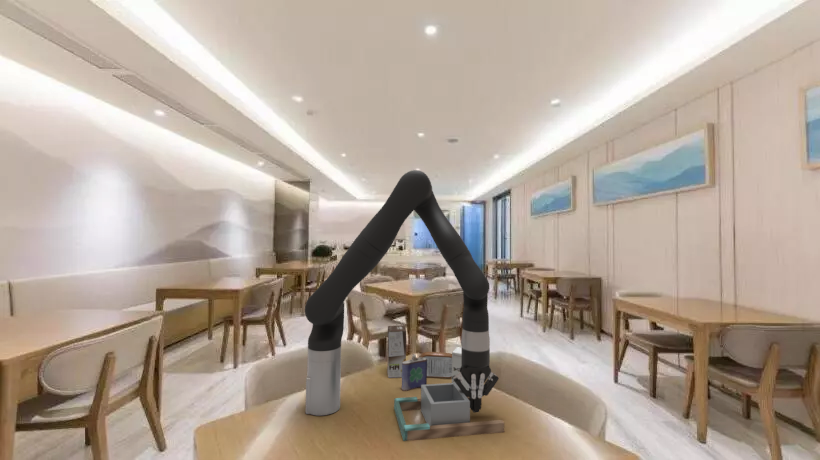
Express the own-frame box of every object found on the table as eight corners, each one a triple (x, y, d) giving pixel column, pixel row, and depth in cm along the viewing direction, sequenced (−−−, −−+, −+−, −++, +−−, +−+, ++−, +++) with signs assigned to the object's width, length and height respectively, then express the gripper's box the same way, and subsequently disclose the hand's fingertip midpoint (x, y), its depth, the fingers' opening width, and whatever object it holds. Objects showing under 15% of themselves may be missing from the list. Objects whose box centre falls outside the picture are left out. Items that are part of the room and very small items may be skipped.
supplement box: (450, 392, 112) (451, 351, 112) (457, 383, 118) (458, 345, 119) (473, 396, 108) (473, 355, 109) (479, 387, 115) (479, 348, 116)
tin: (459, 376, 125) (459, 352, 125) (459, 380, 122) (459, 355, 122) (416, 374, 126) (417, 350, 127) (416, 377, 123) (416, 353, 124)
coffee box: (406, 377, 123) (406, 331, 124) (387, 378, 123) (388, 331, 123) (403, 368, 133) (404, 325, 133) (386, 368, 132) (387, 325, 132)
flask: (404, 392, 111) (404, 358, 111) (399, 389, 114) (399, 355, 114) (428, 386, 116) (428, 353, 116) (423, 383, 118) (423, 351, 119)
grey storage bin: (430, 433, 87) (431, 404, 87) (420, 410, 99) (421, 384, 99) (469, 429, 89) (469, 401, 89) (455, 407, 100) (455, 382, 101)
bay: (403, 442, 83) (403, 428, 83) (394, 409, 100) (394, 398, 100) (504, 433, 88) (504, 420, 88) (479, 403, 104) (479, 392, 104)
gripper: (456, 351, 91) (455, 419, 90) (504, 349, 93) (504, 416, 93) (448, 343, 98) (447, 406, 98) (492, 341, 101) (492, 403, 100)
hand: (475, 411), depth 95 cm, fingers closed
